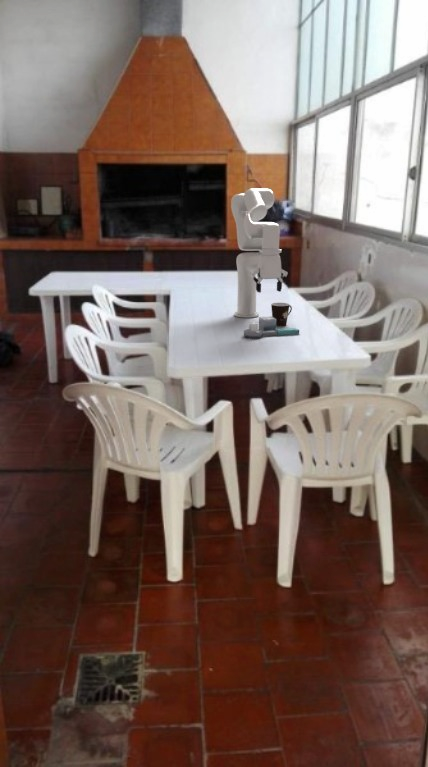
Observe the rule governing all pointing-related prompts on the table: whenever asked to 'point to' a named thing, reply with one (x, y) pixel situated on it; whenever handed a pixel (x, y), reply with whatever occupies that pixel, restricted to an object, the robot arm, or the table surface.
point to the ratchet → (267, 332)
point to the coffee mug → (280, 313)
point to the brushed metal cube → (267, 323)
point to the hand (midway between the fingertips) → (268, 291)
